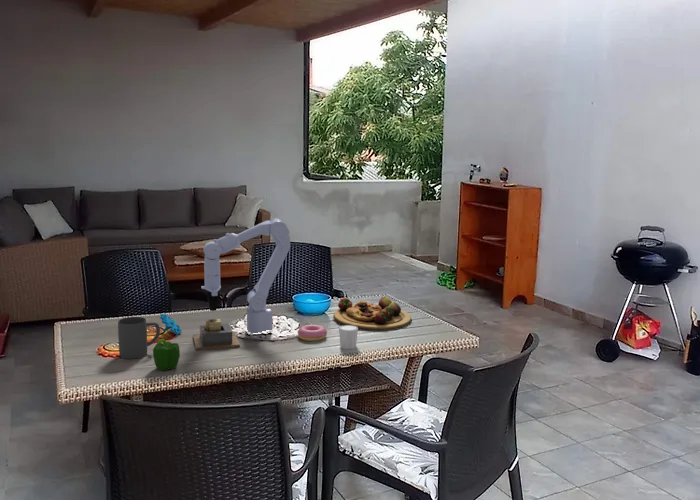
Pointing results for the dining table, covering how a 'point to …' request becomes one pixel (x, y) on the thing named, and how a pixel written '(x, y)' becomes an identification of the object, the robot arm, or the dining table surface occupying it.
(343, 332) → the shot glass
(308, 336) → the doughnut
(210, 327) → the keyed shaft
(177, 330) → the gear
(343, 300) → the wooden plate with food
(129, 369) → the dining table surface
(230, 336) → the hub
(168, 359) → the bell pepper
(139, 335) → the mug
